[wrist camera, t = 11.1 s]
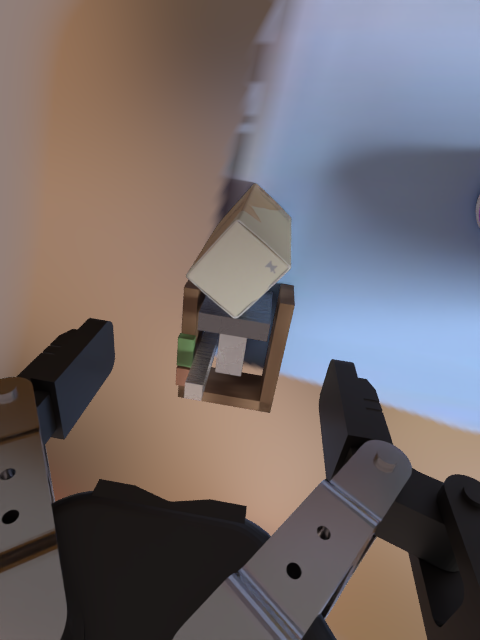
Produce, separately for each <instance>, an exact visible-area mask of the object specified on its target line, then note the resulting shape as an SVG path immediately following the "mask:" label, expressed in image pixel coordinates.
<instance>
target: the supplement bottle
mask: <svg viewBox="0 0 480 640" xmlns="http://www.w3.org/2000/svg"><path fill="white" fill-rule="evenodd" d="M476 220H477V223H478V226H479V228H480V195H479V197H478V200H477V204H476Z"/></svg>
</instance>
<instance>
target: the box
mask: <svg viewBox="0 0 480 640" xmlns="http://www.w3.org/2000/svg"><path fill="white" fill-rule="evenodd" d="M290 268H291V217H290V216H289V215H288V214H287V213H286V212H285V211H284V210H283V209H282V208H281V207H280V206H279V205H278V204H277V203H276V202H275V201H274V200H273V199H272V198H271V197H270V196H269V195H268V194H267V193H266V192H265V191H264V190H263V189H262V188H261V187H259V186H258V185H257V184H253V185H252V186H251V188H250V189H249V190H248V191H247V192H246V193H245V194H244V195H243V196H242V198H241V199H240V200H239V201H238V202H237V203H236V204H235V205H234V207H233V208H232V209H231V210H230V211H229V212H228V213H227V215H226V216H225V217H224V218H223V219H222V220H221V222H220V223H219V224H218V225H217V227H216V228H215V230H214V231H213V233H212V235H211V236H210V238H209V239H208V241H207V243H206V244H205V246H204V248H203V249H202V251H201V253H200V254H199V256H198V258H197V259H196V261H195V262H194V264H193V265H192V267H191V268H190V270H189V272H188V273H187V275H186V277H187V278H188V279H189V280H190V281H191V282H192V283H193V284H194V285H196V286H197V287H198V288H199V289H200V290H201V291H202V292H203V293H204V294H206V295H207V296H208V297H209V298H210V299H212V300H213V301H214V302H215V303H216V304H217V305H218V306H219V307H221V308H222V309H223V310H224V311H225V312H227V313H228V314H229V315H230V316H231V317H232V318H238V317H239V316H241V315H242V314H243V313H244V312H245V311H246V310H247V309H249V308H250V307H251V306H252V305H253V304H254V303H255V302H256V301H257V300H258V299H259V298H260V297H262V296H263V295H264V294H265V293H266V292H267V291H268V290H269V289H270V288H271V287H272V286H273V285H274V284H275V283H276V282H277V281H278V280H279V279H280V278H281V277H283V276H284V275H285V274H286V273H287V272H288V271H289V270H290Z"/></svg>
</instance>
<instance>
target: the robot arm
mask: <svg viewBox="0 0 480 640" xmlns="http://www.w3.org/2000/svg"><path fill="white" fill-rule="evenodd" d="M114 360H115V351H114V334H113V325H112V322H110V321H105V320H99V319H92V318H89V319H88V320H87V321H86V322H85V323H84V324H83V325H82V326H81V327H80V328H79V329H78V330H76V329H72V330H70V331H67V332H66V333H63V334H61V335H59V336H58V337H57V338H56V339H55V340H54V341H53V342H52V343H51V344H50V346H48V347H47V348H46V349H45V350H44V351H43V353H41V354H40V355H39V356H38V357H36V359H34V360H33V361H32V362H31V363H30V364H29V365H28V366H27V367H26V368H25V369H24V370H23V371H22V372H21V373H20V374H19V375H18V376H17V377H7V378H2V379H0V640H336V638H335V636H334V635H333V633H332V631H331V630H330V628H329V626H328V625H327V623H326V621H325V619H326V617H327V616H328V614H329V613H330V611H331V609H332V608H333V606H334V605H335V603H336V601H337V600H338V598H339V596H340V594H341V593H342V591H343V590H344V588H345V586H346V585H347V583H348V581H349V580H350V578H351V577H352V575H353V573H354V572H355V570H356V569H357V567H358V565H359V564H360V562H361V561H362V559H363V558H364V556H365V554H366V553H367V551H368V550H369V548H370V547H371V545H372V543H373V542H374V540H375V539H376V537H379V538H381V539H383V540H385V541H387V542H389V543H391V544H393V545H395V546H397V547H399V548H401V549H403V550H405V551H407V552H408V553H409V558H410V562H411V567H412V571H413V576H414V580H415V585H416V590H417V594H418V599H419V603H420V608H421V612H422V617H423V622H424V626H425V631H426V635H427V640H480V482H479V481H477V480H475V479H473V478H471V477H468V476H465V475H459V474H457V475H456V474H455V475H451V476H449V477H448V478H447V479H446V480H445V482H444V483H443V482H441V481H438V480H436V479H434V478H431V477H429V476H427V475H425V474H422V473H420V472H418V471H416V470H415V469H413V468H412V466H411V463H410V461H409V459H408V458H407V456H406V455H405V454H404V453H403V452H402V451H401V450H400V449H398V448H397V447H396V446H394V445H393V443H392V440H391V436H390V433H389V430H388V427H387V424H386V421H385V418H384V415H383V413H382V408H381V405H380V403H379V399H378V396H377V393H376V390H375V389H374V387H373V386H372V385H371V384H370V383H369V382H368V380H367V379H363V378H358V377H357V373H356V369H355V365H354V363H352V362H346V361H340V360H334V359H332V360H331V361H330V364H329V367H328V370H327V373H326V377H325V380H324V383H323V387H322V390H321V393H320V399H319V415H320V424H321V434H322V443H323V452H324V462H325V471H326V479H325V480H323V481H322V482H321V483H320V484H319V485H318V486H317V487H316V488H315V489H314V490H313V492H312V493H311V494H310V495H309V496H308V497H307V498H306V499H305V500H304V501H303V502H302V504H301V505H300V506H299V507H298V508H297V509H296V510H295V511H294V512H293V513H292V514H291V516H290V517H289V518H288V519H287V520H286V521H285V522H284V523H283V524H282V525H281V526H280V527H279V528H278V530H277V531H276V532H275V533H274V534H273V535H272V536H270V535H269V534H268V533H267V532H266V531H265V530H263V529H262V528H261V527H260V526H258V525H256V524H255V523H253V522H252V521H249V520H248V519H246V518H245V516H246V506H242V505H237V504H232V503H227V502H221V501H216V500H210V499H209V500H195V501H194V500H193V501H177V502H170V501H167V500H165V499H162V498H160V497H158V496H156V495H154V494H152V493H150V492H147V491H146V490H143V489H141V488H139V487H137V486H135V485H129V484H124V483H118V482H113V481H107V480H102V479H99V481H98V483H97V485H96V487H95V489H94V491H88V492H82V493H77V494H74V495H70V496H68V497H65V498H62V499H60V500H58V501H56V502H55V498H54V493H53V487H52V481H51V475H50V470H49V464H48V458H47V452H46V447H45V444H46V443H47V441H48V440H49V439H50V437H53V438H58V439H65V438H66V436H67V435H68V433H69V432H70V431H71V429H72V428H73V426H74V425H75V423H76V422H77V420H78V419H79V418H80V416H81V415H82V413H83V412H84V410H85V409H86V407H87V406H88V404H89V403H90V402H91V400H92V399H93V397H94V396H95V394H96V393H97V391H98V390H99V389H100V387H101V386H102V384H103V383H104V381H105V380H106V378H107V377H108V376H109V374H110V373H111V371H112V368H113V365H114Z"/></svg>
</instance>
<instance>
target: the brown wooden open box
mask: <svg viewBox="0 0 480 640" xmlns="http://www.w3.org/2000/svg"><path fill="white" fill-rule="evenodd" d="M204 299H205V294H204V293H203V292H202V291H201V290H200V289H199V288H198V287H197V286H196V285H194V284H193V283H192V282H191V281H190V280H188V282H187V283H186V285H185V287H184V300H183V317H182V333H180V335H179V337H178V350H177V365H178V366H177V370H176V385H179V388H178V389H179V390H178V397H182V398H184V391H185V381H186V379H187V376H188V373H189V371H190V368H191V365H192V363H193V360H194V357H195V355H196V352H197V349H198V347H199V344H200V341H201V338H202V331H201V330H197V327H198V315H199V311H200V308H201V306H202V304H203V302H204ZM294 306H295V303H294V286H292V285H286V284H280V289H279V294H278V299H277V304H276V309H275V314H274V319H273V324H272V329H271V334H270V339H269V344H268V349H267V354H266V359H265V364H264V369H263V374H262V376H259V375H253V374H247V373H242V372H241V376H236V375H230V374H224V373H218V372H215V370H216V368H213V367H211V369H210V373H209V376H208V379H207V383H206V386H205V389H204V393H203V396H202V400H201V401H206V402H211V403H216V404H222V405H228V406H233V407H239V408H245V409H251V410H256V411H262V412H268V413H270V410H271V406H272V402H273V396H274V392H275V389H276V384H277V380H278V376H279V371H280V367H281V363H282V358H283V354H284V350H285V345H286V341H287V337H288V332H289V328H290V323H291V319H292V315H293V310H294ZM193 400H194V399H193ZM199 401H200V400H199Z"/></svg>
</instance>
